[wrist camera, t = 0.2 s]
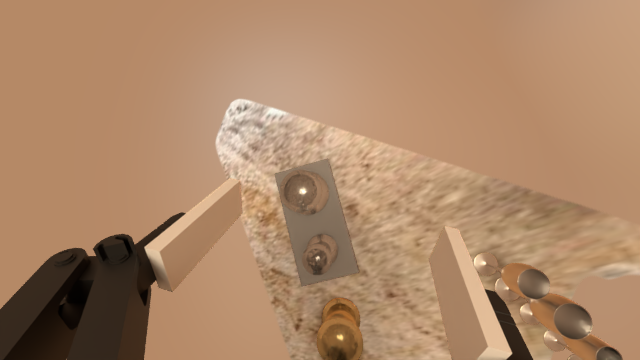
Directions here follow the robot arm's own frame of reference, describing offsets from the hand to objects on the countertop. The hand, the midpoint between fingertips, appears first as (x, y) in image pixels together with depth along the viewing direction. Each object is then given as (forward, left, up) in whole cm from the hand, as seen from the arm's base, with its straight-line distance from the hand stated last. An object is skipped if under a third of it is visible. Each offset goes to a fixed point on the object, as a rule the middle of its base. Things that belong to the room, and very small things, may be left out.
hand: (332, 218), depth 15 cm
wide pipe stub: (+5, +6, -34) cm, 35 cm away
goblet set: (-28, -29, -35) cm, 53 cm away
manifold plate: (-1, +6, -35) cm, 36 cm away
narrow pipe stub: (-7, +6, -34) cm, 35 cm away
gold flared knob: (-21, +6, -35) cm, 41 cm away
